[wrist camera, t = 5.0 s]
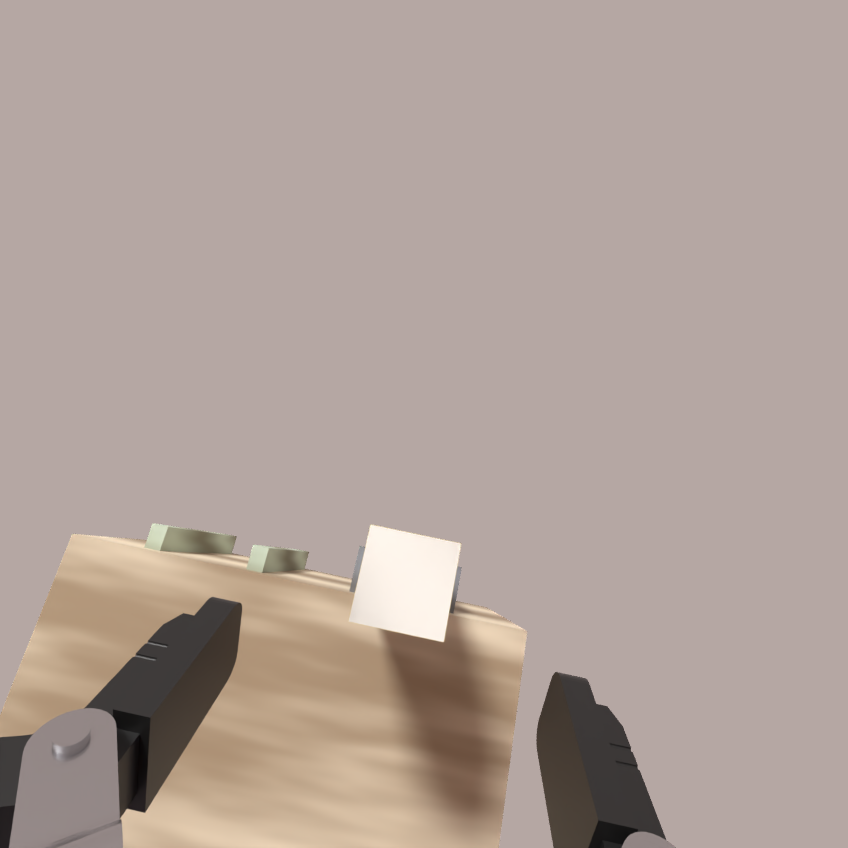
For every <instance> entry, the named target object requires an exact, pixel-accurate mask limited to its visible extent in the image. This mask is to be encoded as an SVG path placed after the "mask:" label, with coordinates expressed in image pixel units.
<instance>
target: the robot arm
mask: <svg viewBox="0 0 848 848" xmlns="http://www.w3.org/2000/svg"><path fill="white" fill-rule="evenodd" d="M241 616H242V604H241V603H239V602H235V601H230V600H225V599H221V598H216V597H211V598H209V599H208V600H207V601H206V602H205V604H204V605H203V606H202V607H201V608H200V609H199V610H198V612H197V613H196V614H195V615H190V614H185V613H183V614H181V615H179V616H177V617H176V618H174V619H172V620H170V621H168V622H167V623H165V624H163V625H162V626H161V627H160V628H159V629H158V630H157V631H156V632H155V633H154V635H153V636H152V637H151V638H150V639H149V640H148V642H147V644H146V643H145V644H144V645H143V646H142V647H141V648H140V649H139V651H138V652H137V653H136V655H135V657H132V658H131V659H130V660H129V661H128V662H127V663H126V664H125V665H124V667H123V668H122V669H121V670H120V671H119V672H118V673H117V674H116V675H115V676H114V677H113V678H112V679H111V680H110V681H109V682H108V684H107V685H106V686H105V687H104V688H103V689H102V690H101V691H100V692H99V693H98V694H97V695H96V696H95V697H94V698H93V700H92V701H91V702H90V703H89V704H88V705H87V706H86V707H85V708H84V709H78V710H73V711H70V712H66V713H64V714H61V715H59V716H57V717H55V718H53V719H51V720H50V721H48V722H47V723H45V724H44V725H43V726H41V727H40V728H39V729H38V730H37V731H36V732H35V733H34V734H30V735H22V736H9V737H0V848H123V832H122V820H121V819H120V818H121V817H122V815H123V814H124V812H125V811H126V809H130V810H135V811H139V812H143V813H145V812H146V811H147V809H148V807H149V806H150V804H151V803H152V801H153V800H154V798H155V796H156V795H157V793H158V792H159V790H160V788H161V787H162V785H163V784H164V782H165V780H166V779H167V777H168V776H169V774H170V772H171V771H172V769H173V768H174V766H175V764H176V763H177V761H178V760H179V758H180V756H181V755H182V753H183V752H184V750H185V748H186V747H187V745H188V744H189V742H190V740H191V739H192V737H193V736H194V734H195V732H196V731H197V729H198V728H199V726H200V724H201V723H202V721H203V720H204V718H205V716H206V715H207V713H208V712H209V710H210V708H211V707H212V705H213V704H214V702H215V700H216V699H217V697H218V696H219V694H220V692H221V691H222V689H223V688H224V686H225V684H226V683H227V681H228V679H229V677H230V675H231V673H232V671H233V668H234V665H235V662H236V658H237V653H238V644H239V635H240V626H241ZM537 752H538V758H539V764H540V770H541V776H542V782H543V787H544V793H545V799H546V805H547V811H548V816H549V823H550V828H551V835H552V840H553V846H554V848H676V847H674V846H673V845H672V844H671V843H669V842H668V841H666V838H665V835H664V833H663V830H662V828H661V825H660V822H659V820H658V817H657V815H656V812H655V809H654V807H653V804H652V801H651V799H650V796H649V794H648V791H647V788H646V786H645V783H644V781H643V778H642V775H641V773H640V771H639V770H638V768H637V762H636V760H635V757H634V755H633V752H631V747H630V744H629V742H628V739H627V737H626V734H625V731H624V728H623V726H622V725H621V724H620V722H619V721H618V720H617V718H616V717H615V716H614V715H613V713H612V712H611V711H610V709H609V708H608V707H607V706H603V705H598V704H596V702H595V700H594V696H593V693H592V690H591V688H590V685H589V682H588V680H587V679H585V678H581V677H577V676H572V675H567V674H562V673H558V672H555V673H554V675H553V676H552V679H551V682H550V685H549V689H548V692H547V696H546V699H545V702H544V705H543V708H542V712H541V715H540V718H539V722H538V728H537Z"/></svg>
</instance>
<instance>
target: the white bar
mask: <svg viewBox="0 0 848 848" xmlns="http://www.w3.org/2000/svg"><path fill="white" fill-rule="evenodd" d="M460 548H461V543H457V542H452V541H447V540H443V539H438V538H433V537H428V536H424V535H419V534H414V533H410V532H404V531H400V530H395V529H391V528H386V527H381V526H376V525H370V529H369V533H368V538H367V542H366V546H365V550H364V555H363V559H362V564H361V568H360V572H359V577H358V581H357V585H356V590H355V594H354V598H353V603H352V607H351V611H350V616H349V620H348V622H351V623H356V624H360V625H365V626H370V627H374V628H379V629H383V630H388V631H393V632H397V633H402V634H407V635H411V636H416V637H421V638H425V639H430V640H434V641H439V642H444V640H445V634H446V628H447V622H448V617H449V611H450V605H451V600H452V594H453V588H454V583H455V577H456V571H457V566H458V560H459V554H460Z"/></svg>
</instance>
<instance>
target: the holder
mask: <svg viewBox="0 0 848 848" xmlns="http://www.w3.org/2000/svg"><path fill="white" fill-rule="evenodd" d="M235 540H236V536H231V535H227V534H221V533H214V532H206V531H201V530H193V529H187V528H181V527H174V526H167V525H160V524H152V527H151V530H150V533H149V536H148V538H147V540H140V539H128V538H115V537H103V536H91V535H90V536H89V535H78V534H72V537H71V539H70V541H69V544H68V547H67V549H66V552H65V554H64V556H63V559H62V562H61V564H60V567H59V569H58V572H57V574H56V577H55V579H54V582H53V584H52V586H51V589H50V592H49V594H48V597H47V599H46V602H45V604H44V607H43V609H42V612H41V614H40V617H39V619H38V622H37V624H36V627H35V629H34V632H33V634H32V637H31V639H30V642H29V644H28V647H27V649H26V652H25V654H24V657H23V659H22V662H21V664H20V667H19V669H18V672H17V674H16V677H15V680H14V682H13V684H12V687H11V689H10V692H9V694H8V697H7V699H6V702H5V705H4V707H3V709H2V712H1V715H0V737H9V736H22V735H30V734H34V733H35V732H36V731H37V730H38V729H39V728H40V727H41V726H43V725H44V724H45V723H47V722H48V721H50V720H51V719H53V718H55V717H57V716H59V715H61V714H64V713H66V712H70V711H73V710H78V709H84V708H85V707H86V706H87V705H88V704H89V703H90V702H91V701H92V700H93V698H94V697H95V696H96V695H97V694H98V693H99V692H100V691H101V690H102V689H103V688H104V687H105V686H106V685H107V684H108V682H109V681H110V680H111V679H112V678H113V677H114V676H115V675H116V674H117V673H118V672H119V671H120V670H121V669H122V668H123V667H124V665H125V664H126V663H127V662H128V661H129V660H130V659H131V658H132V657H135V655H136V653H137V652H138V651H139V649H140V648H141V647H142V646H143V645H144V644H145V643H146V644H147V642H148V640H149V639H150V638H151V637H152V636H153V635H154V633H155V632H156V631H157V630H158V629H159V628H160V627H161V626H162V625H163V624H165V623H167V622H168V621H170V620H172V619H174V618H176V617H177V616H179V615H181V614H183V613H185V614H190V615H195V614H196V613H197V612H198V610H199V609H200V608H201V607H202V606H203V605H204V604H205V602H206V601H207V600H208V599H209V598H211V597H216V598H221V599H225V600H230V601H235V602H239V603H241V604H242V616H241V626H240V635H239V644H238V653H237V658H236V662H235V665H234V668H233V671H232V673H231V675H230V677H229V679H228V681H227V683H226V684H225V686H224V688H223V689H222V691H221V692H220V694H219V696H218V697H217V699H216V700H215V702H214V704H213V705H212V707H211V708H210V710H209V712H208V713H207V715H206V716H205V718H204V720H203V721H202V723H201V724H200V726H199V728H198V729H197V731H196V732H195V734H194V736H193V737H192V739H191V740H190V742H189V744H188V745H187V747H186V748H185V750H184V752H183V753H182V755H181V756H180V758H179V760H178V761H177V763H176V764H175V766H174V768H173V769H172V771H171V772H170V774H169V776H168V777H167V779H166V780H165V782H164V784H163V785H162V787H161V788H160V790H159V792H158V793H157V795H156V796H155V798H154V800H153V801H152V803H151V804H150V806H149V807H148V809H147V811H146V812H145V813H143V812H139V811H135V810H130V809H126V811H125V812H124V814H123V815H122V817H121V818H120V819H121V820H122V832H123V848H499V841H500V834H501V826H502V819H503V810H504V803H505V795H506V788H507V781H508V773H509V765H510V758H511V751H512V743H513V735H514V728H515V720H516V712H517V705H518V698H519V690H520V682H521V675H522V667H523V660H524V652H525V644H526V637H527V631H526V630H524V629H522V628H521V627H519V626H517V625H516V624H514V623H512V622H511V621H509V620H507V619H505V618H504V617H502V616H500V615H499V614H497V613H495V612H493V611H492V610H490V609H488V608H486V607H482V606H477V605H472V604H468V603H463V602H458V601H456V597H457V591H458V585H459V579H460V574H461V567H457V571H456V577H455V583H454V588H453V594H452V600H451V605H450V611H449V617H448V622H447V628H446V634H445V640H444V642H439V641H434V640H430V639H425V638H421V637H416V636H411V635H407V634H402V633H397V632H393V631H388V630H383V629H379V628H374V627H370V626H365V625H360V624H356V623H351V622H348V620H349V616H350V611H351V607H352V603H353V598H354V594H355V590H356V585H357V581H358V577H359V572H360V568H361V564H362V559H363V555H364V550H365V547H362V546H360V548H359V552H358V556H357V560H356V565H355V569H354V573H353V578H352V579H350V578H346V577H341V576H336V575H332V574H327V573H322V572H318V571H313V570H308V569H305V565H306V561H307V557H308V553H309V552H306V551H302V550H297V549H288V548H279V547H270V546H260V545H253V548H252V551H251V555H250V557H247V556H243V555H238V554H233V553H232V550H233V547H234V544H235Z"/></svg>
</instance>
